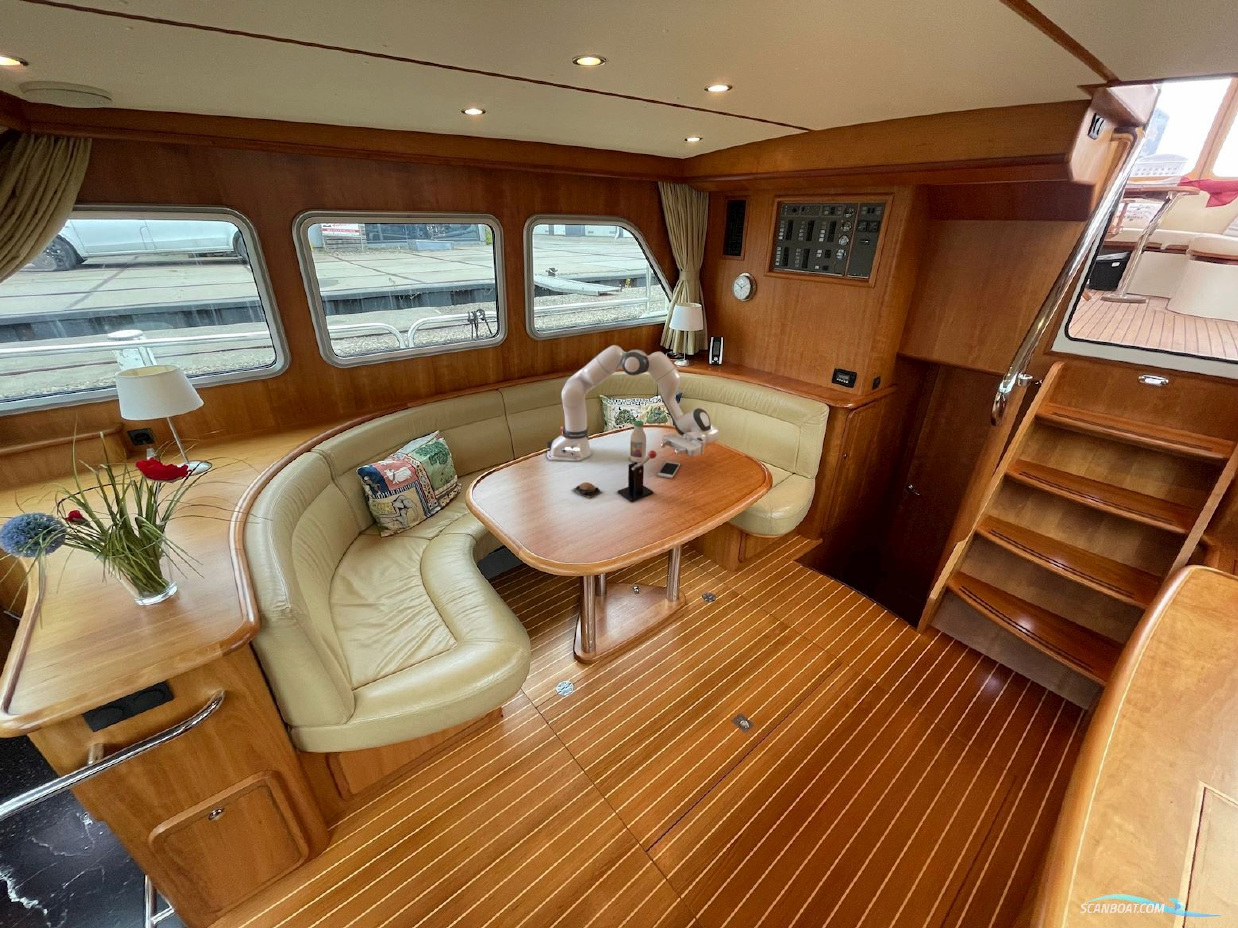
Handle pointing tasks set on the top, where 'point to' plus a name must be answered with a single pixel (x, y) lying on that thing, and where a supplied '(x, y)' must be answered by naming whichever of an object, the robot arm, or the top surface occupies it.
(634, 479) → the bracket
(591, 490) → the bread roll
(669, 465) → the smartphone
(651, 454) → the lever
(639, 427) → the milk bottle
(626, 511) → the top surface
